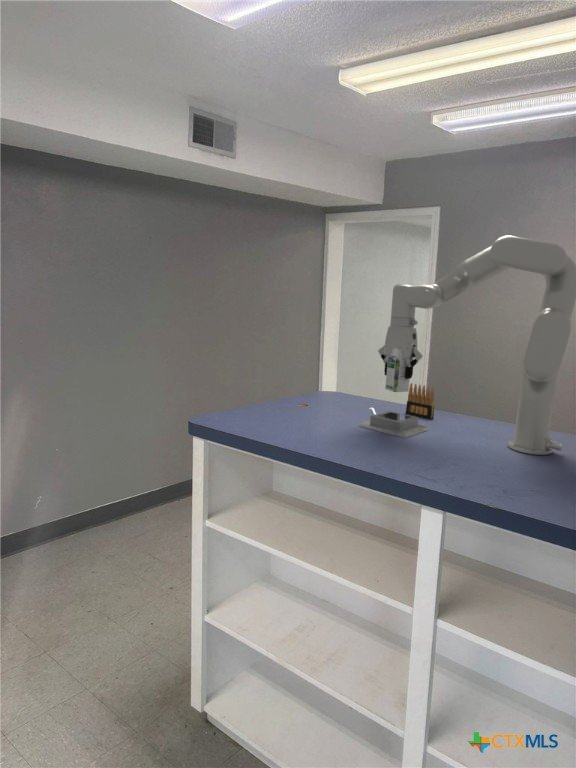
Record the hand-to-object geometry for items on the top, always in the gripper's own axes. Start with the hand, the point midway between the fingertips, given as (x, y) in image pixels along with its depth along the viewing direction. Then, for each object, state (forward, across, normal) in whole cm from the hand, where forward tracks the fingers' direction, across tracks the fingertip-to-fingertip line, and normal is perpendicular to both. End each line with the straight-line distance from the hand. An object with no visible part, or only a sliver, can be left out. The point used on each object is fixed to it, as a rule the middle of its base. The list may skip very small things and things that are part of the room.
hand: (397, 376), depth 176 cm
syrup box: (+5, 0, 0) cm, 5 cm away
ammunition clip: (+18, +3, -22) cm, 29 cm away
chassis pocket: (+18, 0, 0) cm, 18 cm away
